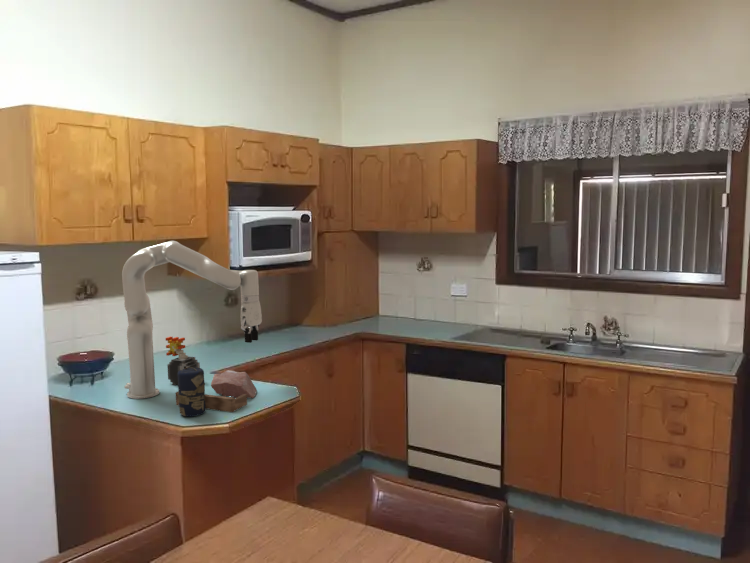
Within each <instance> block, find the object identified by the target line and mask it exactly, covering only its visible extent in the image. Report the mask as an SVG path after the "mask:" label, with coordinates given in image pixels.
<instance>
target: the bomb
mask: <svg viewBox="0 0 750 563" xmlns="http://www.w3.org/2000/svg"><path fill="white" fill-rule="evenodd" d="M185 340H186V337H178V336H176V337H173V336H167V337H165V341H167V344H166V345H165V348H166V349H169V350H167V352H166V354H165V355H166V356H167V357H168V356H171V355H172V357H177V356H178V357H177V358H173V359H171V360H170V361H169V363H167V364H166V366H167V380H169V381H170V383H172V386H178V371H180V370H181V369H185V368H187V367H192V368H201V365H200V363H201V362H198V359H196V357H195V356H189V355H187V353H186V352H184V349H185V348H186V345H185V344H183V343H184V341H185Z"/></svg>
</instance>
